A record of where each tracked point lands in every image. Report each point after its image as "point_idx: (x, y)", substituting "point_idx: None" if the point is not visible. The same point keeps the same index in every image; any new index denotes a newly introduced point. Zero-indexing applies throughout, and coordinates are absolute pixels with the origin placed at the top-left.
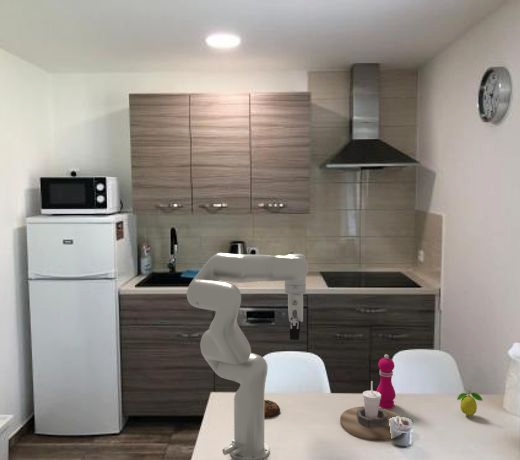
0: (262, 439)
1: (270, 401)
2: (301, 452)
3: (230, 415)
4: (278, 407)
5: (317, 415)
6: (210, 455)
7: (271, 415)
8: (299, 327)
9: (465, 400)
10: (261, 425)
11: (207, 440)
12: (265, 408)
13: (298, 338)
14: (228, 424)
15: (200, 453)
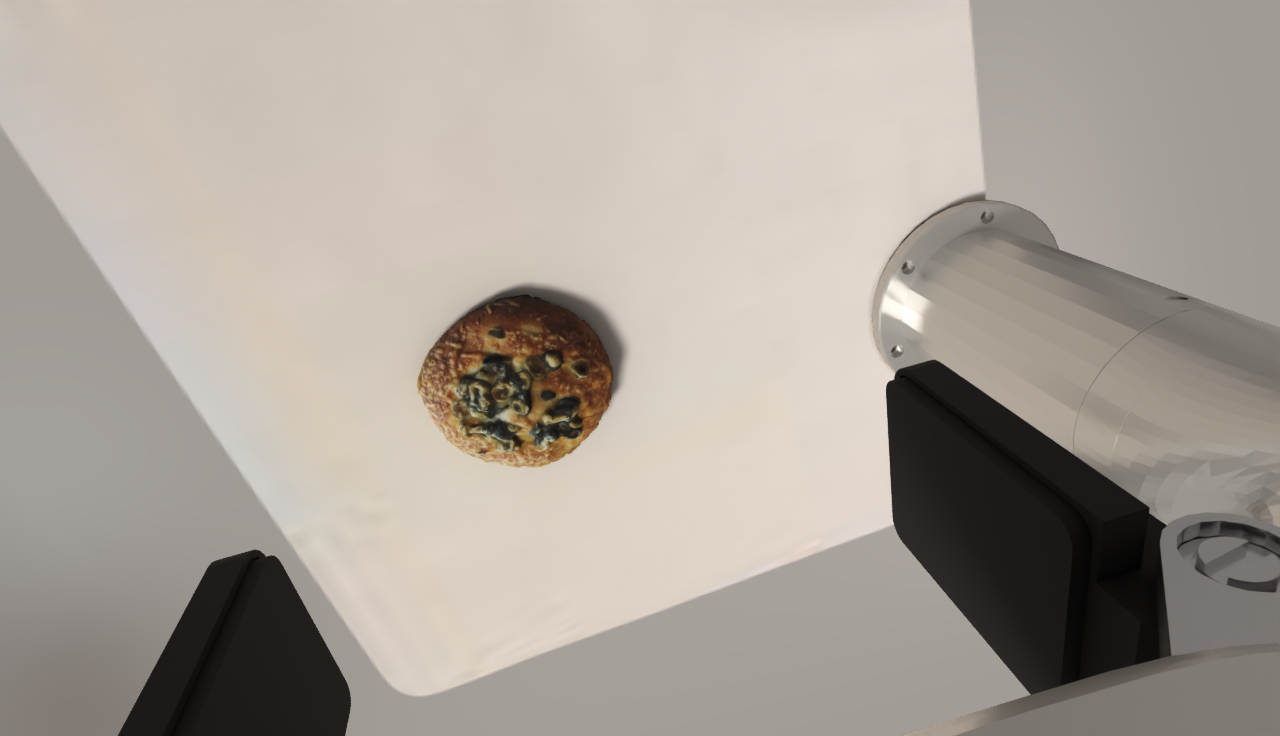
0: (1045, 246)
1: (486, 385)
2: (940, 25)
3: (637, 523)
4: (505, 315)
5: (439, 23)
6: None
7: (588, 325)
8: (233, 632)
9: None
10: (1122, 272)
11: None
12: (584, 379)
13: (942, 378)
14: (732, 490)
15: None
